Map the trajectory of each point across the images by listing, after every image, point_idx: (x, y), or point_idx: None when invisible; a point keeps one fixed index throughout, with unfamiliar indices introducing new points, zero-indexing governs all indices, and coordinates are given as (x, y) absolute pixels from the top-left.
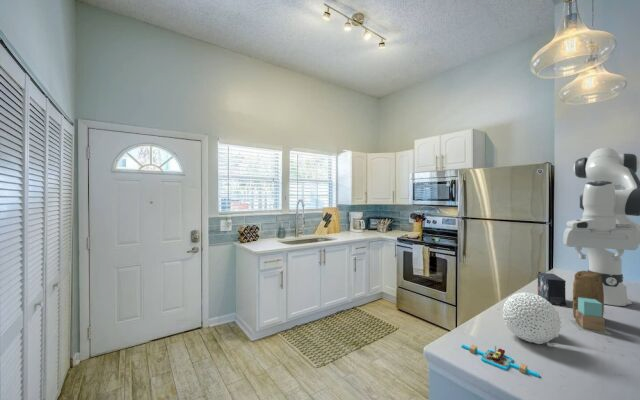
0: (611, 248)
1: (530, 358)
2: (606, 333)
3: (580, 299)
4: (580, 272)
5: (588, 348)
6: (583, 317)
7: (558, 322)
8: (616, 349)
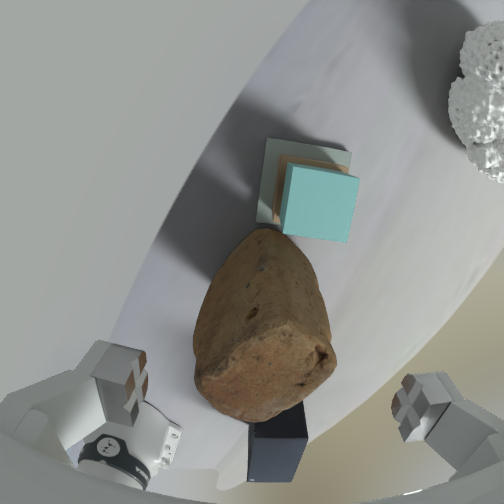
0: (126, 489)
1: (494, 16)
2: (280, 143)
3: (351, 217)
4: (301, 387)
5: (378, 53)
6: (344, 166)
7: (486, 27)
8: (305, 61)
